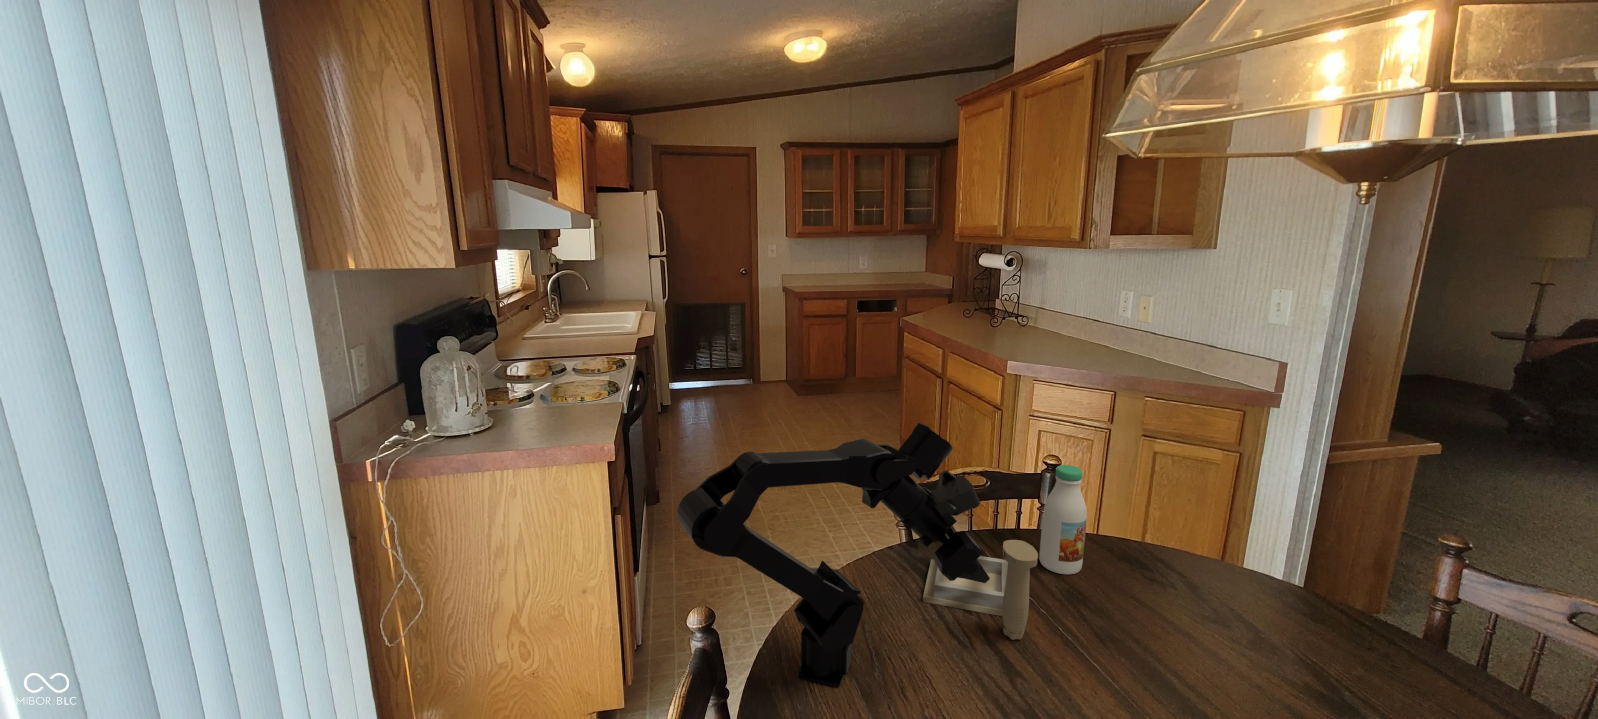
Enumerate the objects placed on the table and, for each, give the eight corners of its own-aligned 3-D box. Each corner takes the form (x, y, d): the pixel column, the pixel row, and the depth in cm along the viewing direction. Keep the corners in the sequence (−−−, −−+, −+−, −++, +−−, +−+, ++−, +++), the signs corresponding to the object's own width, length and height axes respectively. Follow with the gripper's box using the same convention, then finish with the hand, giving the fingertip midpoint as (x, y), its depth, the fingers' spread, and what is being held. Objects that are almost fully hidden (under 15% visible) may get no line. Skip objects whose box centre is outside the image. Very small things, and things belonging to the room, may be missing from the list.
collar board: (922, 601, 107) (923, 583, 107) (931, 563, 120) (931, 547, 119) (1019, 619, 103) (1020, 600, 102) (1017, 578, 115) (1018, 561, 114)
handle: (1005, 648, 96) (1012, 561, 92) (991, 622, 102) (998, 539, 99) (1036, 647, 96) (1043, 560, 92) (1020, 621, 102) (1027, 539, 99)
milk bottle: (1040, 572, 117) (1049, 474, 113) (1037, 552, 124) (1045, 459, 120) (1084, 578, 115) (1095, 478, 110) (1078, 557, 122) (1088, 463, 118)
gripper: (971, 490, 82) (1042, 560, 86) (928, 443, 100) (988, 502, 104) (911, 547, 83) (985, 613, 86) (879, 490, 101) (941, 547, 105)
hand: (975, 563), depth 95 cm, fingers open, 9 cm apart
